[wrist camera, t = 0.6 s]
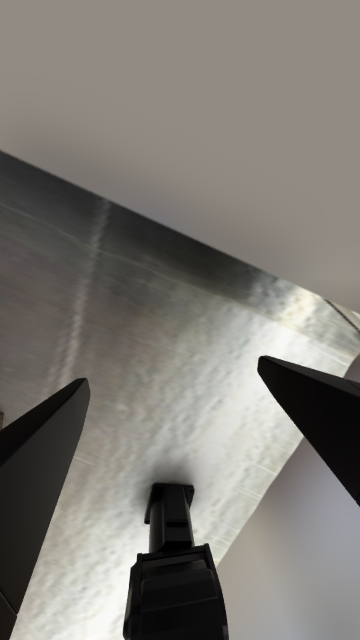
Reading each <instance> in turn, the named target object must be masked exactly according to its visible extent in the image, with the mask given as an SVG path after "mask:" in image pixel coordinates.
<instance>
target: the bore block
mask: <svg viewBox="0 0 360 640" xmlns="http://www.w3.org/2000/svg"><path fill="white" fill-rule="evenodd" d="M2 421H3V414H2V413H0V431H1V428H2Z"/></svg>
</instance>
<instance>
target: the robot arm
mask: <svg viewBox="0 0 360 640" xmlns="http://www.w3.org/2000/svg"><path fill="white" fill-rule="evenodd" d="M257 371H258V374H259V375H260V377H261V378H262V380H263V381H264V383H265V384H266V386H267V388H268V389H269V391H270V392H271V394H272V395H273V397H274V398H275V399H276V401H277V402H278V403H279V405H280V406H281V407H282V408H283V410H284V411H285V412H286V413H287V415H288V416H289V417H290V419H291V420H292V421H293V422H294V424H295V425H296V426H297V427H298V429H299V430H300V431H301V433H302V434H303V435H304V436H305V437H306V439H307V440H308V441H309V443H310V444H311V445H312V446H313V448H314V449H315V450H316V452H317V453H318V454H319V456H320V457H321V458H322V459H323V461H324V462H325V463H326V464H327V466H328V467H329V468H330V469H331V471H332V472H333V473H334V474H335V476H336V477H337V478H338V480H339V481H340V482H341V484H342V485H343V486H344V487H345V489H346V490H347V491H348V493H349V494H350V495H351V496H352V498H353V499H354V500H355V501H356V503H357V504H358V505H359V506H360V383H358V382H355V381H351V380H347V379H344V378H341V377H338V376H334V375H331V374H328V373H324V372H321V371H318V370H314V369H311V368H308V367H304V366H301V365H298V364H294V363H291V362H288V361H284V360H281V359H277V358H274V357H271V356H267V355H266V356H260V357H259V360H258V367H257ZM89 400H90V388H89V383H88V380H87V378H78V379H76V380H74V381H73V382H71V383H70V384H68V385H67V386H65V387H64V388H62V389H61V390H59V391H58V392H57V393H55V394H54V395H52V396H51V397H49V398H48V399H46V400H45V401H43V402H42V403H40V404H39V405H37V406H36V407H34V408H33V409H31V410H30V411H29V412H27V413H26V414H24V415H23V416H21V417H20V418H18V419H17V420H15V421H14V422H12V423H11V424H9V425H8V426H6V427H5V428H3V429H2V430H1V431H0V640H9V639H10V636H11V634H12V631H13V628H14V625H15V622H16V619H17V614H18V612H19V610H20V607H21V604H22V602H23V599H24V596H25V593H26V590H27V587H28V584H29V582H30V579H31V576H32V573H33V570H34V567H35V564H36V562H37V559H38V556H39V553H40V550H41V547H42V544H43V542H44V539H45V536H46V533H47V530H48V527H49V524H50V522H51V519H52V516H53V513H54V510H55V507H56V505H57V502H58V499H59V496H60V493H61V490H62V487H63V485H64V482H65V479H66V476H67V473H68V470H69V467H70V465H71V462H72V459H73V456H74V453H75V450H76V447H77V445H78V442H79V439H80V436H81V433H82V430H83V426H84V422H85V417H86V413H87V409H88V405H89ZM193 495H194V487H193V486H191V485H175V484H159V483H155V484H153V485H152V489H151V493H150V497H149V501H148V505H147V510H146V514H145V518H144V523H145V524H150V535H149V553H146V554H142V553H138V554H137V562H136V563H135V564H134V565H133V566H132V567H131V571H130V581H129V590H128V598H127V605H126V611H125V618H124V626H123V637H124V639H125V640H229V635H228V624H227V616H226V610H225V604H224V599H223V594H222V589H221V586H220V582H219V579H218V575H217V572H216V568H215V565H214V561H213V558H212V554H211V551H210V547H209V544H208V543H206V544H204V545H200V546H195V544H194V537H193V530H192V524H191V517H190V506H191V503H192V499H193Z"/></svg>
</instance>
